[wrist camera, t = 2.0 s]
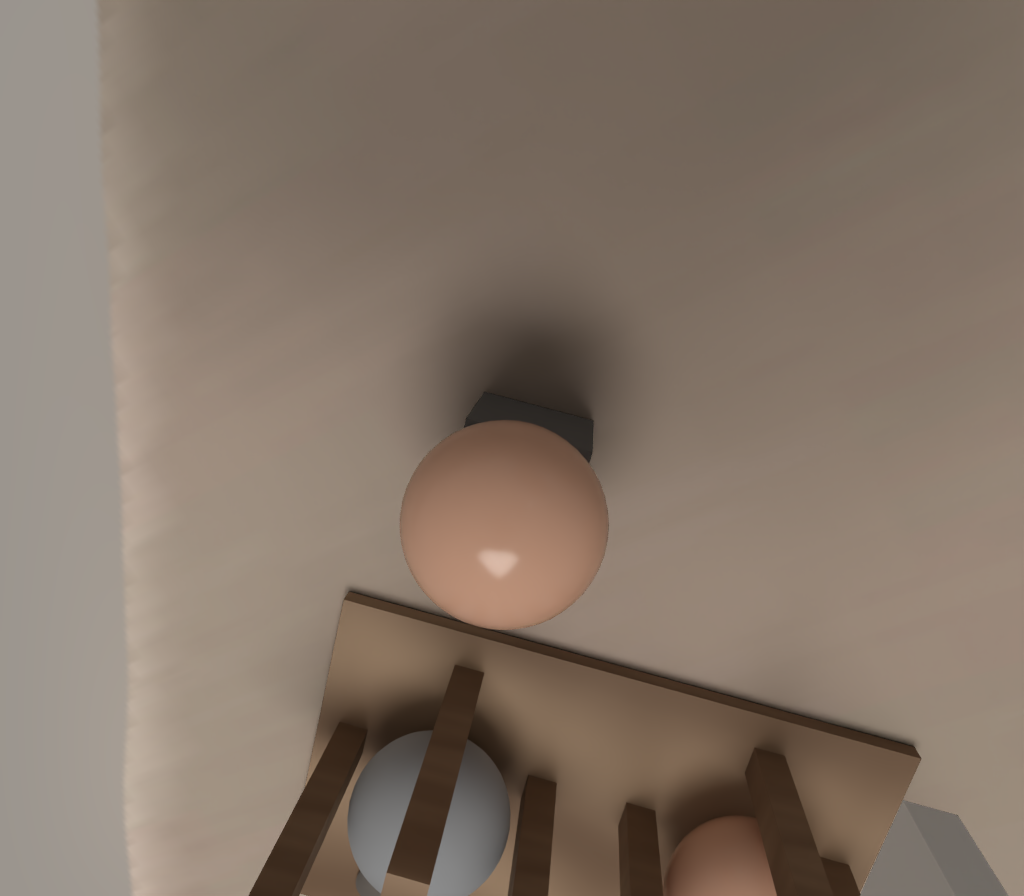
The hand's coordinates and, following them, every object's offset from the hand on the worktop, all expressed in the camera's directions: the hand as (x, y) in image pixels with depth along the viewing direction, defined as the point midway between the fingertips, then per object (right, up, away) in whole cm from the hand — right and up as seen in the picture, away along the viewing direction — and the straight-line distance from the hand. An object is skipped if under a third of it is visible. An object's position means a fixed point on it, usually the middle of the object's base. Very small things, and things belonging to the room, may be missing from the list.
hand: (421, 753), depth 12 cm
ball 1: (-1, -6, +16) cm, 17 cm away
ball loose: (+1, +2, +8) cm, 9 cm away
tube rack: (+4, -8, +17) cm, 19 cm away
